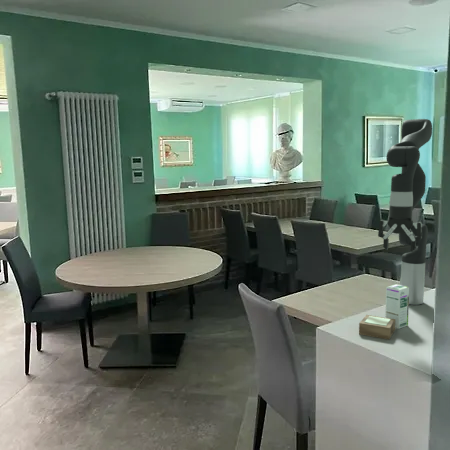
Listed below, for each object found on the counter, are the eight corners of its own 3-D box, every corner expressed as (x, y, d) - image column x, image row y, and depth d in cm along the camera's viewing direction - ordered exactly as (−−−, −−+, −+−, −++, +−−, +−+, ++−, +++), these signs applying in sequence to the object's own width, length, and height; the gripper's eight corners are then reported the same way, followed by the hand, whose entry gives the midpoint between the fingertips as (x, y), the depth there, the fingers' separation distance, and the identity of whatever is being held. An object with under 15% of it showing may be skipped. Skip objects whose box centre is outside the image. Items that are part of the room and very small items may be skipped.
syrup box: (398, 329, 164) (400, 289, 162) (384, 324, 169) (385, 286, 167) (408, 326, 167) (410, 286, 165) (393, 321, 172) (395, 283, 170)
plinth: (366, 325, 168) (366, 314, 168) (395, 330, 163) (395, 318, 163) (358, 334, 160) (359, 322, 159) (389, 339, 155) (389, 327, 154)
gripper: (424, 204, 161) (422, 250, 163) (382, 202, 168) (380, 247, 170) (421, 206, 155) (419, 254, 157) (377, 204, 162) (375, 250, 164)
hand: (399, 250), depth 164 cm, fingers open, 8 cm apart
